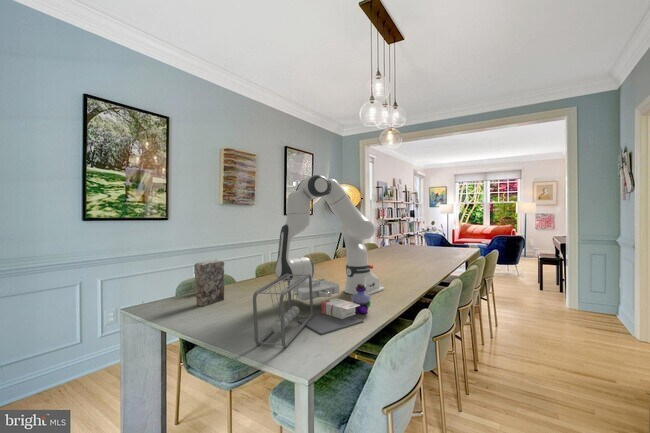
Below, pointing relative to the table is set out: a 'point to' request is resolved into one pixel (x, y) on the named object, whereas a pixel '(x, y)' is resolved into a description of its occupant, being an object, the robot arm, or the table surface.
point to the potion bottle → (361, 299)
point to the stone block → (209, 282)
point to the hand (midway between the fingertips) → (328, 295)
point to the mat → (329, 323)
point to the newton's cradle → (283, 309)
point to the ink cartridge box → (338, 308)
